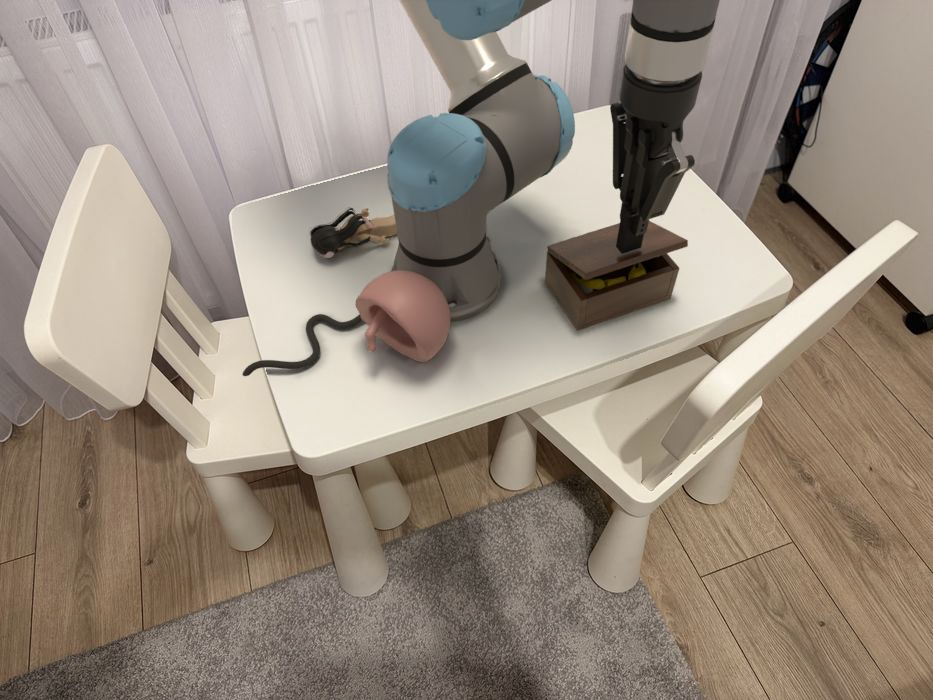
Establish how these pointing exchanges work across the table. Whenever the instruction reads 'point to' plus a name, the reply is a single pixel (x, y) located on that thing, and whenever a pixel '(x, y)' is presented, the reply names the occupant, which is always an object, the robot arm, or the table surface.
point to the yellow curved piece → (598, 284)
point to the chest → (611, 290)
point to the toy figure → (351, 232)
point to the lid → (612, 250)
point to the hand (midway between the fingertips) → (628, 246)
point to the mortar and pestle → (405, 314)
